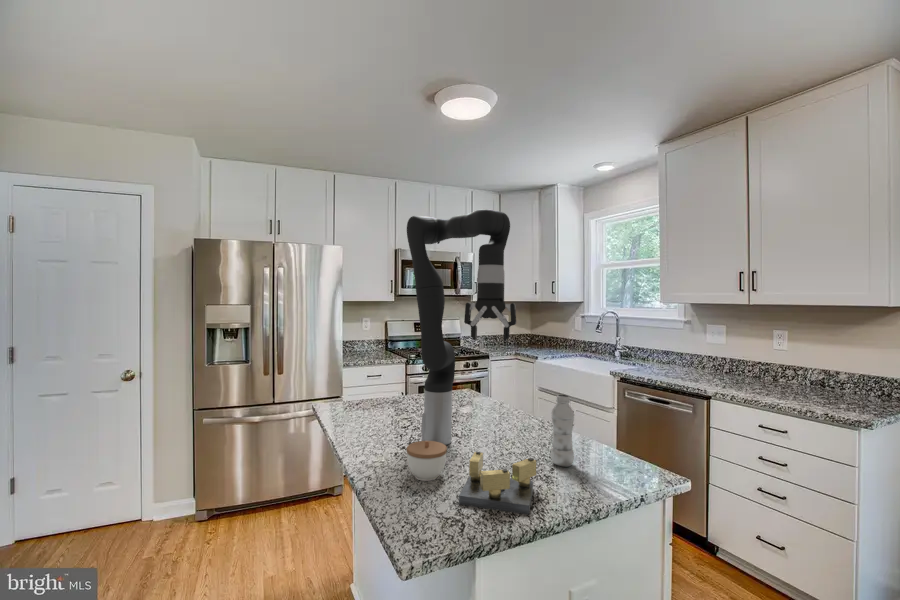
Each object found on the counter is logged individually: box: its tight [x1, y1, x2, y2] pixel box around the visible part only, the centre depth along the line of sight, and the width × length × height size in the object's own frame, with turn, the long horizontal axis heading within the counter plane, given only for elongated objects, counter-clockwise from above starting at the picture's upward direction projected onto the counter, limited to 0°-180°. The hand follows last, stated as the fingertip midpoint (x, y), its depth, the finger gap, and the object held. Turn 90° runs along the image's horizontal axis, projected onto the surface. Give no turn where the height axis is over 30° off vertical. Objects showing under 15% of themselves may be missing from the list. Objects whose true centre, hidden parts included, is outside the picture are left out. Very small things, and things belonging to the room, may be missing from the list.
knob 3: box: [511, 457, 537, 487], centre depth 103 cm, size 6×3×6 cm, turn 130°
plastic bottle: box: [550, 393, 575, 468], centre depth 121 cm, size 6×7×20 cm
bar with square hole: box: [480, 468, 511, 498], centre depth 97 cm, size 6×3×6 cm, turn 102°
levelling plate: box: [458, 476, 534, 515], centre depth 101 cm, size 16×13×3 cm
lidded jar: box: [406, 440, 448, 482], centre depth 112 cm, size 11×11×9 cm
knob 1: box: [468, 451, 484, 481], centre depth 106 cm, size 6×3×6 cm, turn 165°
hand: (489, 340), depth 117 cm, fingers open, 8 cm apart
